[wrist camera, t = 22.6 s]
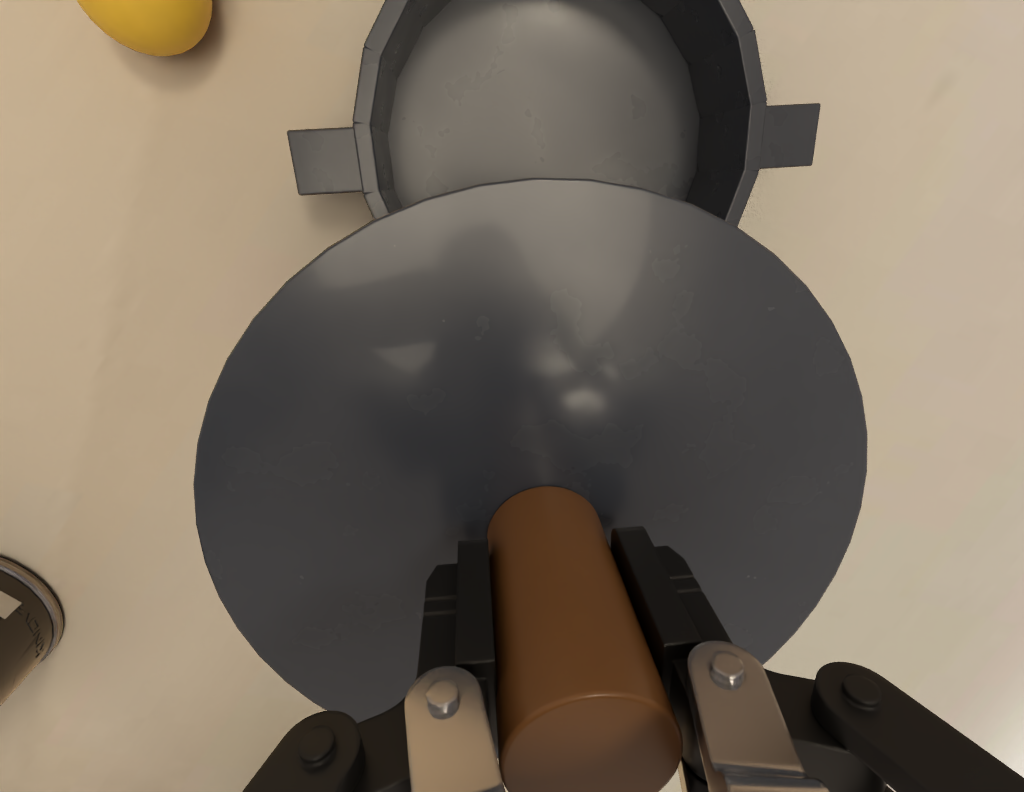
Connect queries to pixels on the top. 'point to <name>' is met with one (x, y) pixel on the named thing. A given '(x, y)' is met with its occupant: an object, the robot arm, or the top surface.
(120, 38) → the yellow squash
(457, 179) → the pan
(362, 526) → the lid
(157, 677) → the top surface
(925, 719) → the robot arm
